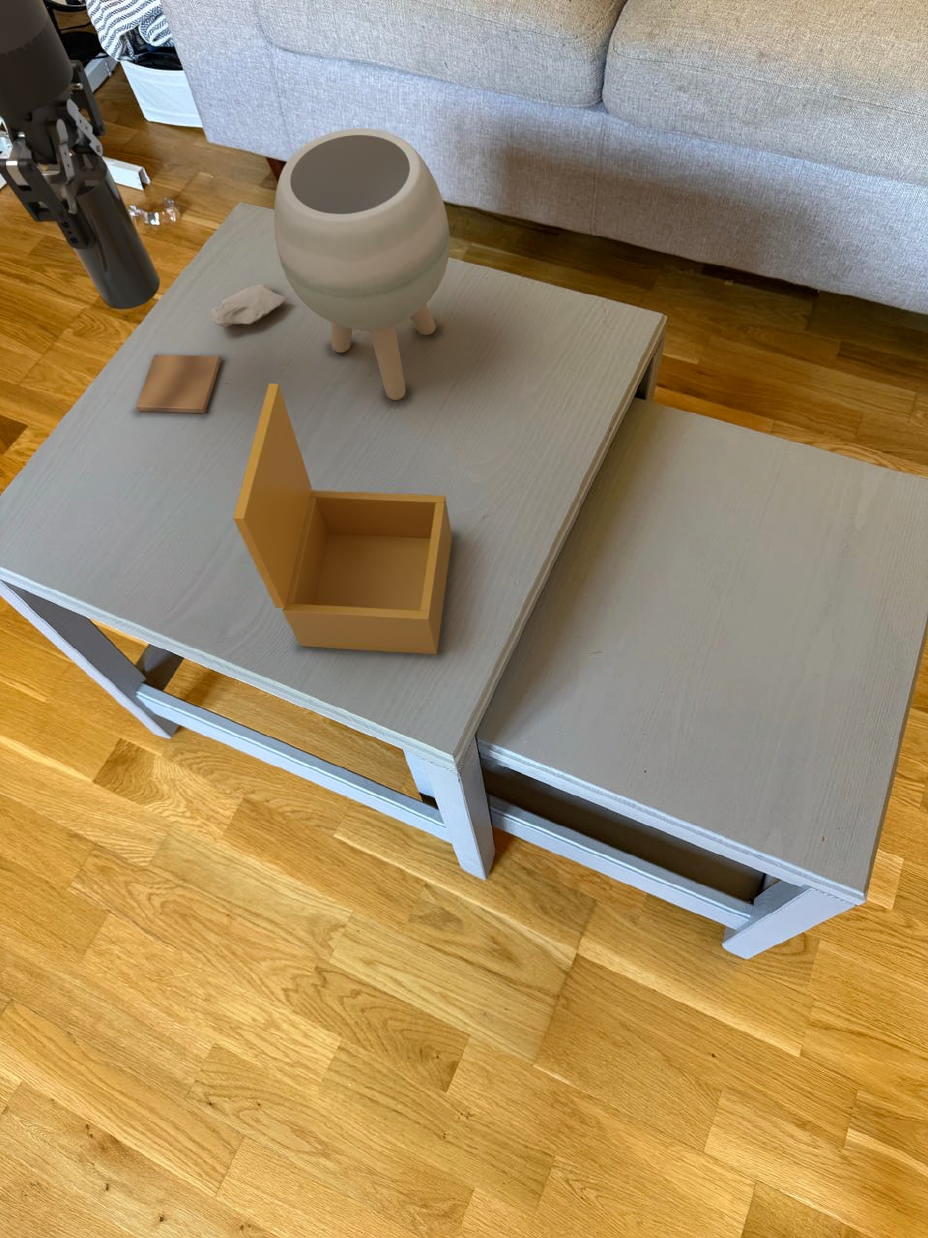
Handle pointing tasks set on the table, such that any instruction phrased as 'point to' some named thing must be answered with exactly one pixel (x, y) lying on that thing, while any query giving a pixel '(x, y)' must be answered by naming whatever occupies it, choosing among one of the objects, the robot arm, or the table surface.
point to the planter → (363, 238)
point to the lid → (274, 497)
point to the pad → (179, 384)
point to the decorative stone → (246, 306)
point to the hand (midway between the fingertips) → (95, 220)
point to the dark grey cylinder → (110, 237)
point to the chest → (370, 572)
